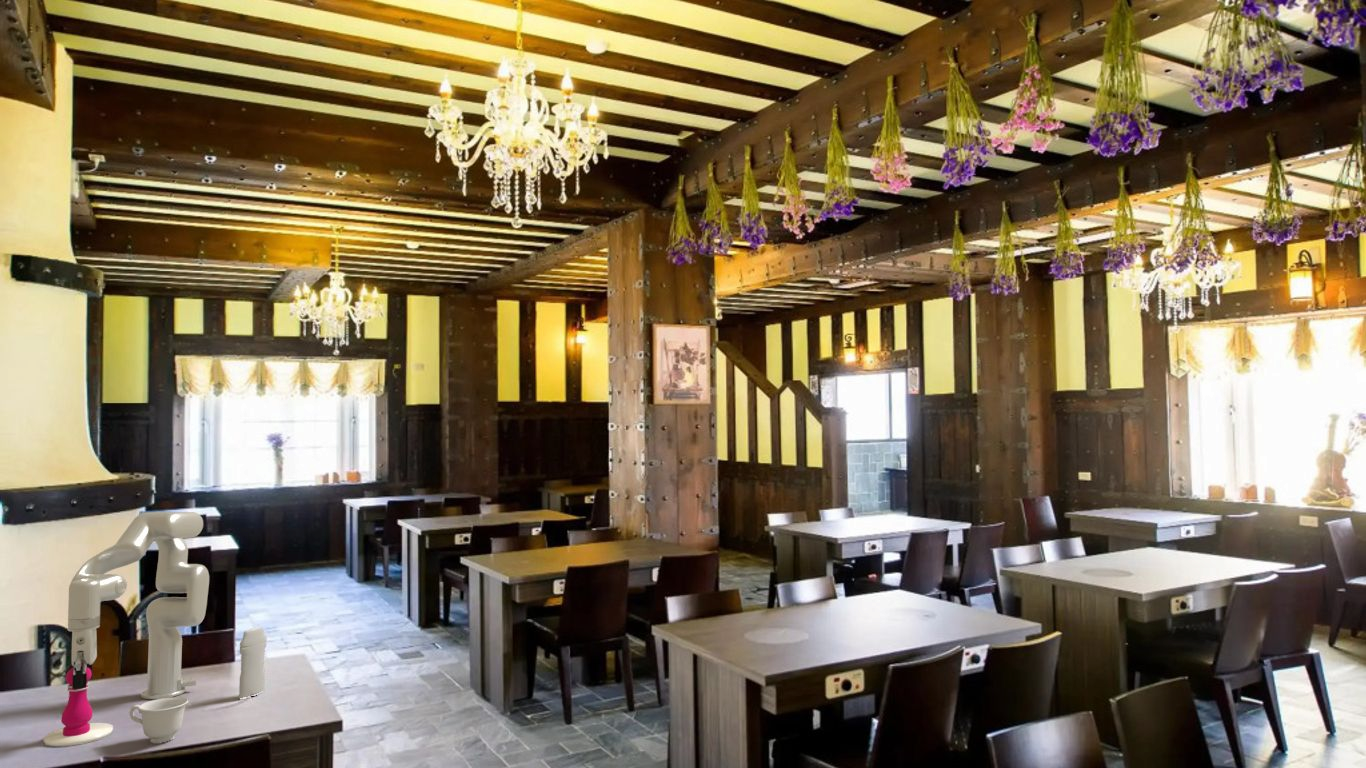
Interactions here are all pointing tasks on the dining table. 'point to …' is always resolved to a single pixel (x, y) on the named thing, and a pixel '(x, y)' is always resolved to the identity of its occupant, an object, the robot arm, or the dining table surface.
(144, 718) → the teacup
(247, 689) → the tall pale column
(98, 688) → the dining table surface
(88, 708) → the pepper mill
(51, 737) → the plate
